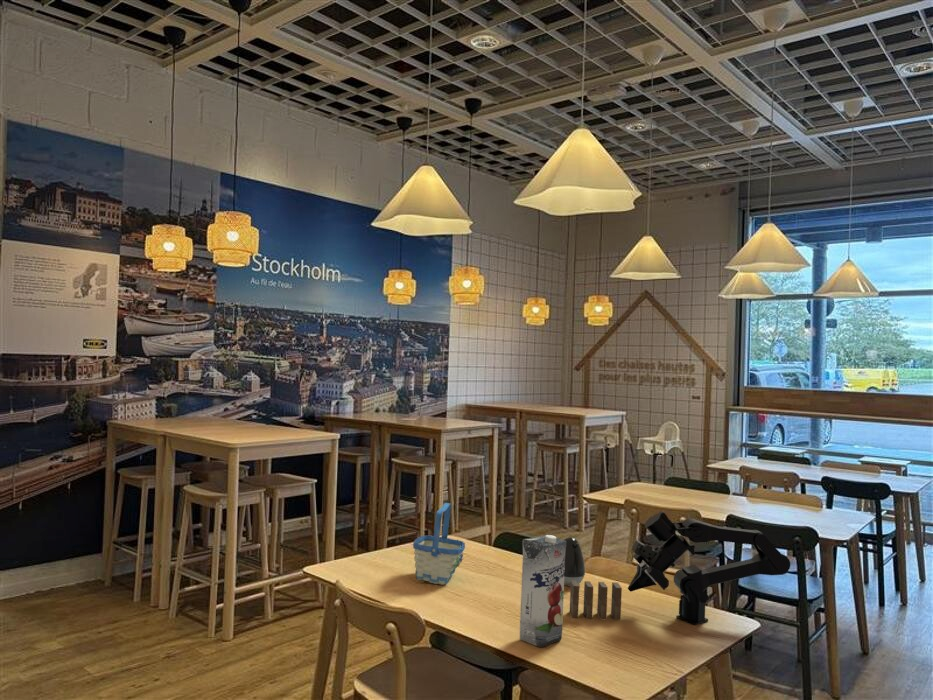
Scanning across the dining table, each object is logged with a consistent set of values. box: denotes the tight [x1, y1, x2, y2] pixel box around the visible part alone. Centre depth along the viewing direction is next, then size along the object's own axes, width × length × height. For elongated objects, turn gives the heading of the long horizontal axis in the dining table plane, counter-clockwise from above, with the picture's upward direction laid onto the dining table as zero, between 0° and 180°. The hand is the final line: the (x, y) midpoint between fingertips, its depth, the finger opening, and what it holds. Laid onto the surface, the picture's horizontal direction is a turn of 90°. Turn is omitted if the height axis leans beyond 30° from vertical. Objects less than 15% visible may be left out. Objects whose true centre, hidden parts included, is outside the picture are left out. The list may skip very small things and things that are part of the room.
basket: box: [412, 502, 466, 586], centre depth 229 cm, size 21×16×24 cm
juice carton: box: [519, 534, 566, 648], centre depth 179 cm, size 9×10×27 cm
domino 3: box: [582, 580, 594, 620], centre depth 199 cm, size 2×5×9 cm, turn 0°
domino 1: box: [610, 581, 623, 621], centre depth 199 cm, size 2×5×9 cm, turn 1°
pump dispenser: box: [563, 536, 586, 587], centre depth 229 cm, size 10×10×15 cm
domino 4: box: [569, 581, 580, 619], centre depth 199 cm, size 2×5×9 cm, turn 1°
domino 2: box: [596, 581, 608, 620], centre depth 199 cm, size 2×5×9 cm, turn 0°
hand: (628, 590), depth 199 cm, fingers closed
